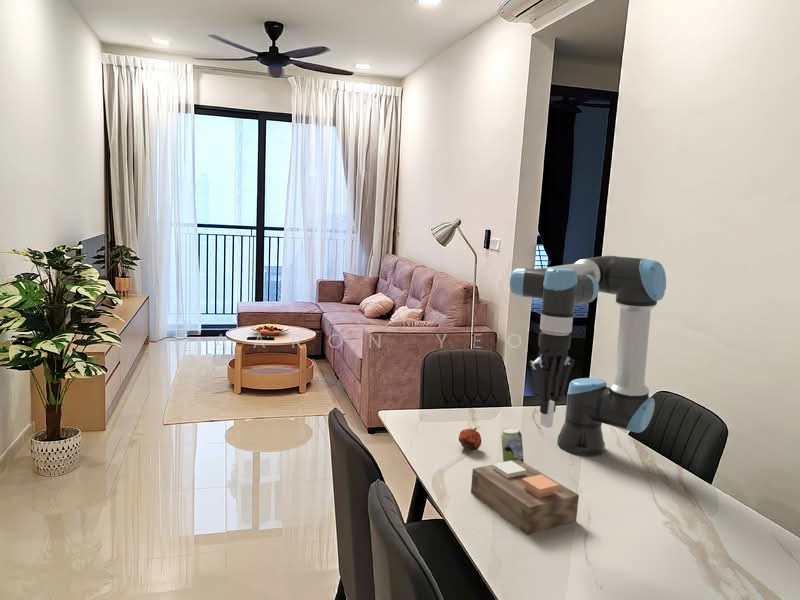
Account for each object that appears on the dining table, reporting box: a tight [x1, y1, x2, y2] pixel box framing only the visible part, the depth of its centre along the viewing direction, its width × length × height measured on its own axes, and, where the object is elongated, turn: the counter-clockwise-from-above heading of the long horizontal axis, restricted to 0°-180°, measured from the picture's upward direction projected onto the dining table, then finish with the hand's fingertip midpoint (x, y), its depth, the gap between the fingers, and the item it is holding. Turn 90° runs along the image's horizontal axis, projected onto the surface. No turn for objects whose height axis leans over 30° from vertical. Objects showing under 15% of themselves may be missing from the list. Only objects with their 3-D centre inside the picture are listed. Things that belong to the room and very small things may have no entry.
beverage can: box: [501, 427, 525, 463], centre depth 180 cm, size 6×7×12 cm
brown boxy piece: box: [470, 459, 580, 536], centre depth 157 cm, size 16×23×7 cm
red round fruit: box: [458, 427, 482, 454], centre depth 192 cm, size 7×7×10 cm
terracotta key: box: [522, 474, 560, 498], centre depth 152 cm, size 6×6×8 cm
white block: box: [492, 461, 527, 478], centre depth 162 cm, size 6×6×8 cm
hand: (546, 425), depth 149 cm, fingers closed
